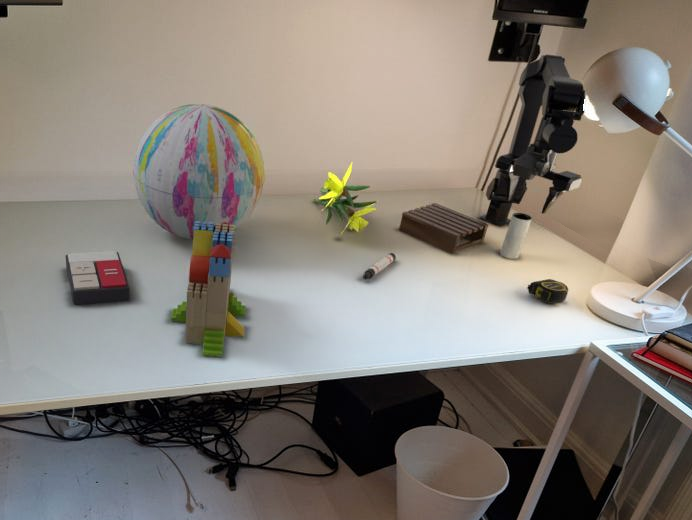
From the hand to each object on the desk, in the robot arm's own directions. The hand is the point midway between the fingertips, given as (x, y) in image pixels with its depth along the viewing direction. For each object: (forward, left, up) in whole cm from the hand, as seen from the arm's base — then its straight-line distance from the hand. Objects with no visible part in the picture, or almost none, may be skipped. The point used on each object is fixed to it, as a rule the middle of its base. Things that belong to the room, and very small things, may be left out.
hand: (525, 206), depth 155 cm
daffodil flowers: (+25, -38, -13) cm, 47 cm away
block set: (+82, -17, -13) cm, 85 cm away
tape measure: (+14, +17, -13) cm, 26 cm away
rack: (+6, -16, -13) cm, 22 cm away
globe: (+61, -49, -13) cm, 79 cm away
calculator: (+94, -39, -13) cm, 103 cm away
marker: (+37, -12, -13) cm, 41 cm away
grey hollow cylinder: (0, 0, -13) cm, 13 cm away
